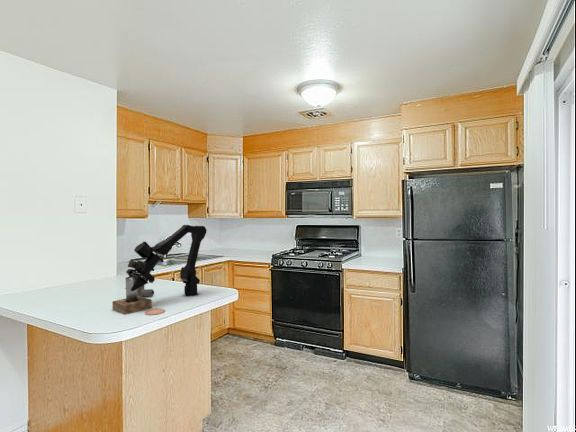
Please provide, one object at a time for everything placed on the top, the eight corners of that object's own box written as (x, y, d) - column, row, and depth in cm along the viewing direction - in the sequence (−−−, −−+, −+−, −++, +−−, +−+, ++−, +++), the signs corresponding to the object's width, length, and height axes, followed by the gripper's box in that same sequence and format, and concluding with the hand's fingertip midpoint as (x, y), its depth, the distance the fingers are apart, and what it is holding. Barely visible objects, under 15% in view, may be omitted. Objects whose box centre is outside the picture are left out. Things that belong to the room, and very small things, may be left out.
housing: (138, 303, 176) (138, 295, 176) (151, 307, 168) (151, 299, 168) (112, 309, 166) (112, 301, 166) (125, 314, 158) (125, 305, 158)
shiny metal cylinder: (138, 301, 170) (137, 276, 170) (137, 303, 166) (136, 277, 165) (127, 302, 169) (126, 276, 168) (125, 304, 164) (124, 278, 164)
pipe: (149, 298, 187) (149, 283, 187) (129, 297, 190) (128, 283, 189) (156, 295, 193) (156, 281, 193) (136, 294, 195) (136, 280, 195)
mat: (152, 308, 166) (152, 308, 166) (169, 309, 164) (169, 309, 164) (140, 314, 157) (140, 313, 157) (157, 315, 155) (157, 314, 155)
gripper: (129, 253, 176) (107, 278, 167) (148, 255, 164) (125, 282, 156) (144, 266, 182) (124, 291, 174) (163, 269, 170) (143, 296, 162)
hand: (128, 290), depth 166 cm, fingers closed on shiny metal cylinder, 5 cm apart
